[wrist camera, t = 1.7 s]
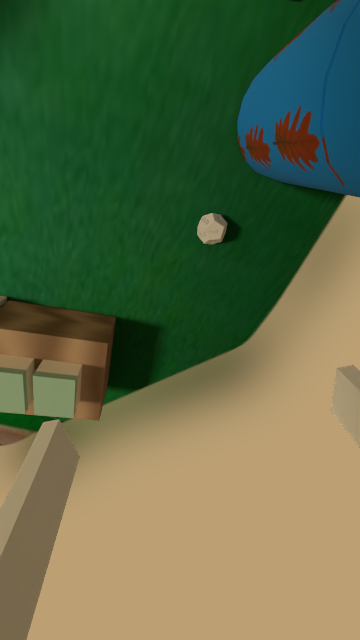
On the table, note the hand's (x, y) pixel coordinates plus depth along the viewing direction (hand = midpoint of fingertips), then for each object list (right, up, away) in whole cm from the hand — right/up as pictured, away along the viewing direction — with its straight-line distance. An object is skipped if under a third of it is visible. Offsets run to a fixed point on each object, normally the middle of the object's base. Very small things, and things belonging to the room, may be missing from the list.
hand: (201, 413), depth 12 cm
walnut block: (-18, 0, +26) cm, 32 cm away
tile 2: (-16, -3, +20) cm, 26 cm away
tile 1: (-21, -2, +19) cm, 29 cm away
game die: (+3, +16, +20) cm, 26 cm away
